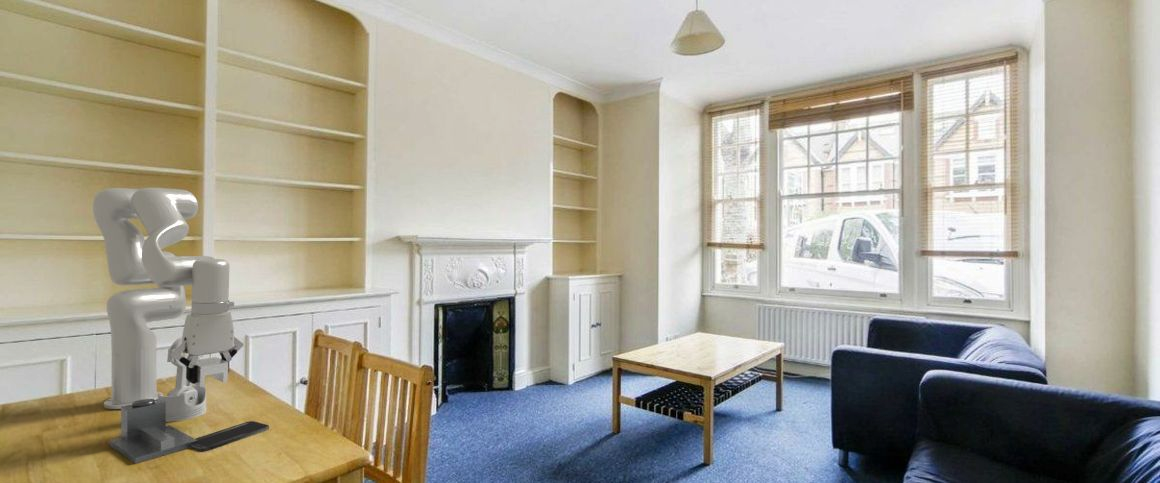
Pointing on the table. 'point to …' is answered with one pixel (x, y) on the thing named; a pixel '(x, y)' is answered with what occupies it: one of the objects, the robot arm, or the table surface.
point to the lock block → (211, 370)
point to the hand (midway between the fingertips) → (207, 378)
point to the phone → (229, 435)
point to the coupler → (148, 432)
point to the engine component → (183, 393)
